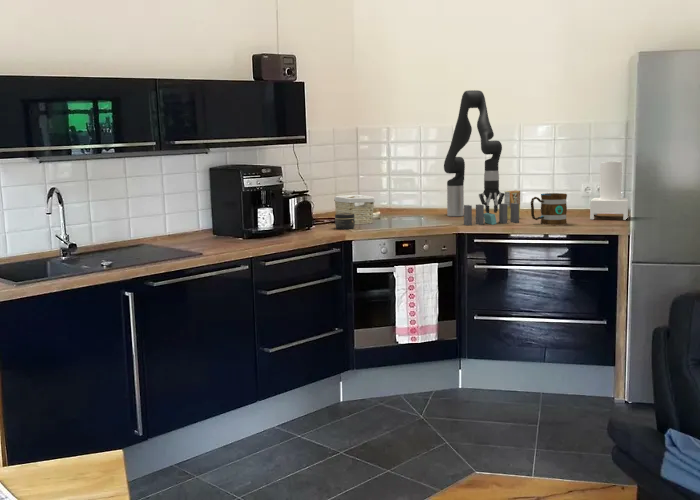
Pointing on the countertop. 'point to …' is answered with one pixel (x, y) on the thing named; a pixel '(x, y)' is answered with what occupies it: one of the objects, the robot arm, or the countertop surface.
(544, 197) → the mug
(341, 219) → the jar
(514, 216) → the domino
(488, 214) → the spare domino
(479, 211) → the domino
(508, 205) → the candy box
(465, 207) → the domino
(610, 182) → the paper towel holder
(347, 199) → the storage basket
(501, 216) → the domino
